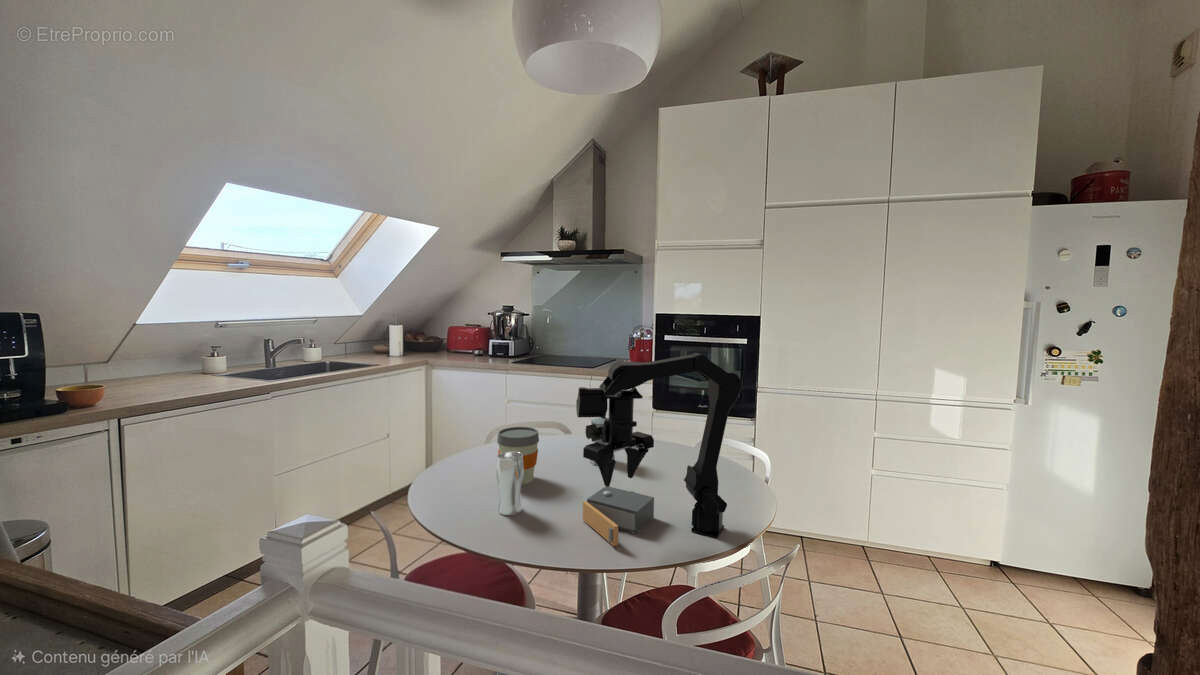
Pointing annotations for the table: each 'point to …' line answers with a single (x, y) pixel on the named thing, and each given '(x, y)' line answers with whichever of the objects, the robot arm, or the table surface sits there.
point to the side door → (600, 523)
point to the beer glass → (510, 481)
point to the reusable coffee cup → (521, 447)
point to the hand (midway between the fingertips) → (618, 481)
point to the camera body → (624, 508)
